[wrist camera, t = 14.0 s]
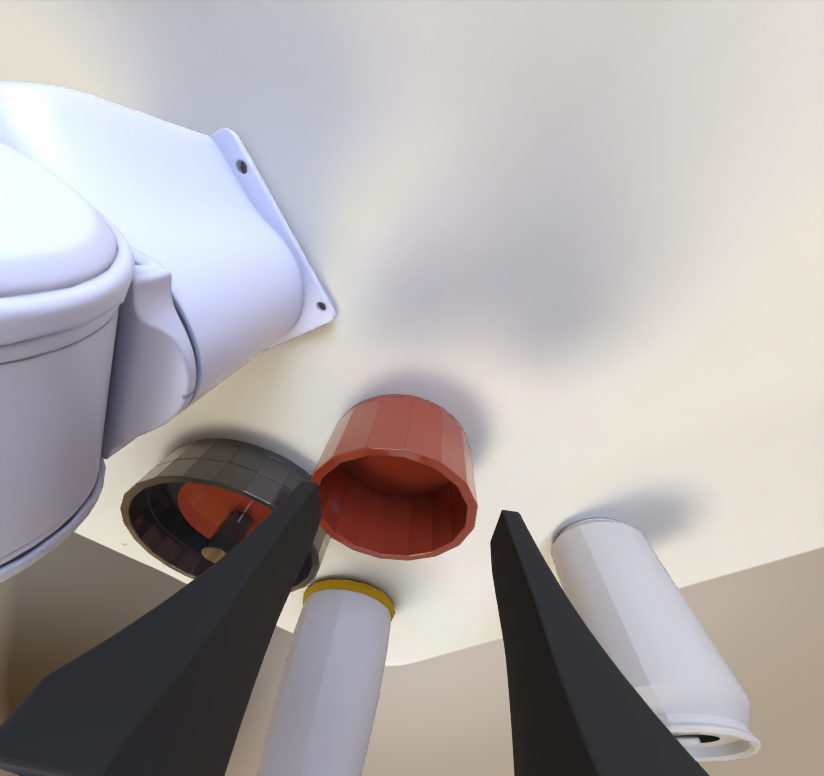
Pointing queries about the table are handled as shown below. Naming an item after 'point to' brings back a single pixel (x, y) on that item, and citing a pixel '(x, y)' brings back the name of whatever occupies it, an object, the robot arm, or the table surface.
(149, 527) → the pan
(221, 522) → the lid
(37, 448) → the robot arm
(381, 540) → the reddish brown bowl
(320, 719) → the soap bottle
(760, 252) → the table surface
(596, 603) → the can
